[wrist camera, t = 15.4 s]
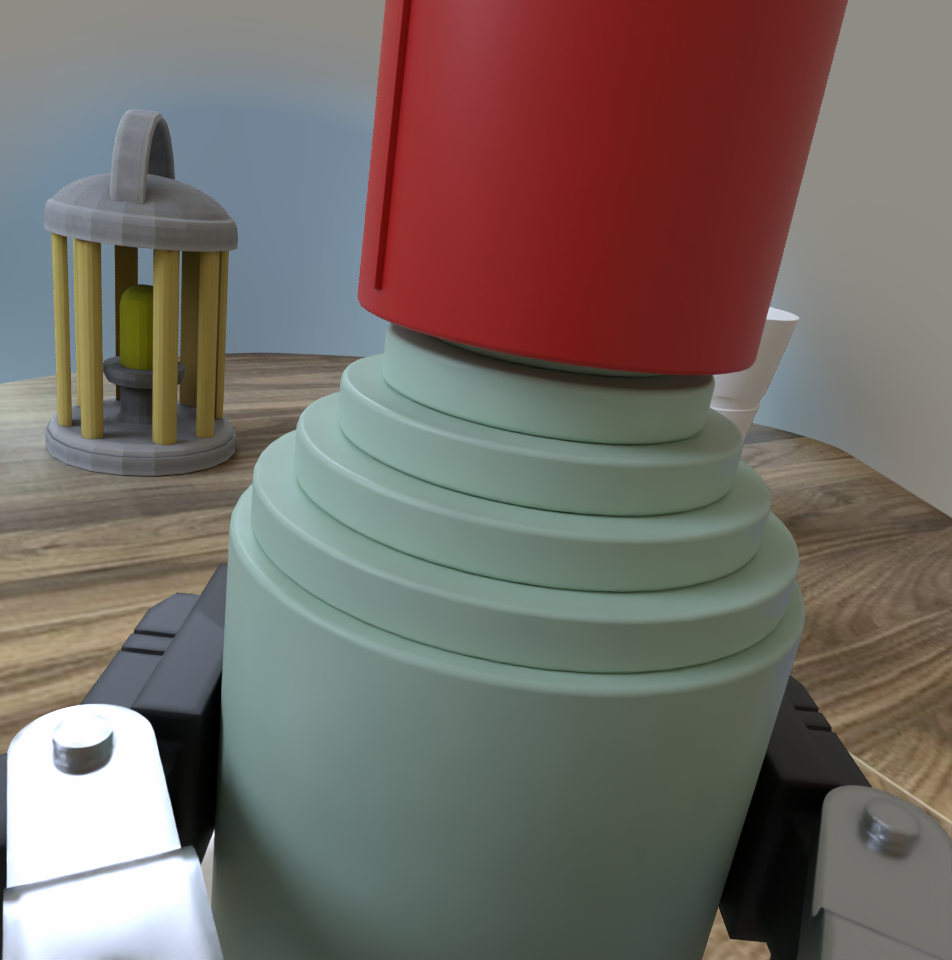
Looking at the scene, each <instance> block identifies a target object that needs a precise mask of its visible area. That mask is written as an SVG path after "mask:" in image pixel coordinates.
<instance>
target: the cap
mask: <svg viewBox="0 0 952 960" xmlns="http://www.w3.org/2000/svg"><path fill="white" fill-rule="evenodd" d="M847 2H848V0H386V2H385V13H384V23H383V34H382V44H381V55H380V66H379V77H378V86H377V97H376V108H375V119H374V129H373V140H372V150H371V161H370V171H369V181H368V193H367V203H366V213H365V224H364V235H363V245H362V256H361V266H360V277H359V287H358V300H359V302H360V304H361V306H362V307H364V308H365V309H366V310H367V311H369V312H371V313H372V314H375V315H376V316H378V317H380V318H382V319H384V320H387V321H389V322H391V323H393V324H396V325H399V326H402V327H404V328H407V329H410V330H413V331H416V332H420V333H423V334H426V335H430V336H433V337H436V338H440V339H444V340H448V341H452V342H456V343H459V344H464V345H468V346H472V347H477V348H481V349H486V350H490V351H495V352H500V353H505V354H510V355H515V356H520V357H526V358H532V359H538V360H543V361H549V362H556V363H562V364H569V365H575V366H583V367H591V368H598V369H606V370H615V371H626V372H636V373H648V374H663V375H718V374H728V373H734V372H739V371H743V370H746V369H749V368H750V367H751V366H752V365H753V364H754V362H755V361H756V357H757V353H758V349H759V346H760V342H761V338H762V334H763V330H764V326H765V322H766V318H767V314H768V310H769V306H770V302H771V298H772V295H773V291H774V287H775V283H776V279H777V275H778V271H779V267H780V264H781V260H782V256H783V252H784V248H785V244H786V240H787V236H788V232H789V228H790V224H791V220H792V216H793V213H794V209H795V205H796V201H797V197H798V193H799V189H800V185H801V182H802V178H803V174H804V169H805V166H806V162H807V158H808V154H809V150H810V146H811V143H812V139H813V135H814V131H815V127H816V123H817V119H818V115H819V111H820V107H821V104H822V100H823V96H824V91H825V88H826V84H827V80H828V76H829V72H830V68H831V64H832V61H833V57H834V53H835V48H836V45H837V41H838V37H839V33H840V29H841V25H842V21H843V18H844V13H845V9H846V6H847Z"/></svg>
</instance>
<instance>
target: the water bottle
mask: <svg viewBox="0 0 952 960" xmlns="http://www.w3.org/2000/svg"><path fill="white" fill-rule="evenodd" d="M714 387H715V378H714V376H713V375H663V374H648V373H636V372H626V371H615V370H606V369H598V368H591V367H583V366H575V365H569V364H562V363H556V362H549V361H543V360H538V359H532V358H526V357H520V356H515V355H510V354H505V353H500V352H495V351H490V350H486V349H481V348H477V347H472V346H468V345H464V344H459V343H456V342H452V341H448V340H444V339H440V338H436V337H433V336H430V335H426V334H423V333H420V332H416V331H413V330H410V329H407V328H404V327H402V326H399V325H396V324H393V323H390V324H389V326H388V327H387V329H386V337H385V348H384V353H383V354H378V355H374V356H369V357H366V358H363V359H360V360H357V361H355V362H353V363H352V364H350V365H349V366H348V367H347V368H346V369H345V370H344V372H343V374H342V378H341V385H340V392H336V393H333V394H330V395H328V396H325V397H323V398H320V399H318V400H317V401H315V402H314V403H312V404H310V405H309V406H308V407H307V408H306V409H305V410H304V411H303V412H302V414H301V416H300V419H299V421H298V423H297V429H296V430H294V431H291V432H289V433H287V434H285V435H283V436H281V437H280V438H278V439H277V440H275V441H274V442H272V443H271V444H270V445H269V446H268V447H267V448H266V449H265V450H264V451H263V452H262V453H261V455H260V457H259V459H258V461H257V463H256V465H255V467H254V473H253V483H252V484H251V485H250V486H249V488H248V489H247V490H246V491H245V492H244V493H243V494H242V495H241V497H240V499H239V500H238V502H237V504H236V506H235V508H234V510H233V512H232V515H231V522H230V529H229V547H228V568H227V588H226V608H225V629H224V649H223V669H222V690H221V710H220V730H219V751H218V771H217V791H216V811H215V832H214V852H213V872H212V893H211V911H212V915H213V919H214V923H215V926H216V930H217V934H218V938H219V942H220V946H221V950H222V954H223V958H224V960H702V958H703V954H704V951H705V948H706V945H707V942H708V938H709V935H710V932H711V929H712V925H713V922H714V919H715V916H716V912H717V909H718V906H719V903H720V899H721V896H722V893H723V890H724V886H725V883H726V880H727V877H728V873H729V870H730V867H731V864H732V860H733V857H734V854H735V851H736V848H737V844H738V841H739V838H740V835H741V831H742V828H743V825H744V822H745V818H746V815H747V812H748V809H749V805H750V802H751V799H752V796H753V792H754V789H755V786H756V783H757V779H758V776H759V773H760V770H761V767H762V763H763V760H764V757H765V754H766V750H767V747H768V744H769V741H770V737H771V734H772V731H773V728H774V724H775V721H776V718H777V715H778V711H779V708H780V705H781V702H782V698H783V695H784V692H785V689H786V685H787V682H788V679H789V676H790V673H791V669H792V666H793V663H794V660H795V656H796V653H797V650H798V647H799V643H800V640H801V637H802V634H803V629H804V624H805V619H806V614H805V606H804V599H803V595H802V592H801V590H800V588H799V585H798V583H797V581H796V576H797V572H798V568H799V564H800V562H799V555H798V548H797V545H796V543H795V541H794V539H793V537H792V534H791V533H790V531H789V530H788V529H787V528H786V526H785V525H784V524H783V523H782V521H781V520H780V519H779V518H778V517H777V516H776V515H774V514H773V513H772V512H771V511H770V509H771V495H770V491H769V489H768V486H767V484H766V482H765V481H764V480H763V479H762V477H761V476H760V475H759V474H758V473H757V472H756V471H755V470H754V469H753V468H751V467H750V466H749V465H748V464H747V463H745V462H744V461H742V460H741V459H740V457H741V453H742V449H743V436H742V434H741V432H740V430H739V428H738V427H737V426H736V425H735V424H734V423H733V422H732V421H731V420H729V419H728V418H727V417H725V416H724V415H722V414H721V413H719V412H717V411H715V410H714V409H712V408H710V403H711V399H712V395H713V391H714Z"/></svg>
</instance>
